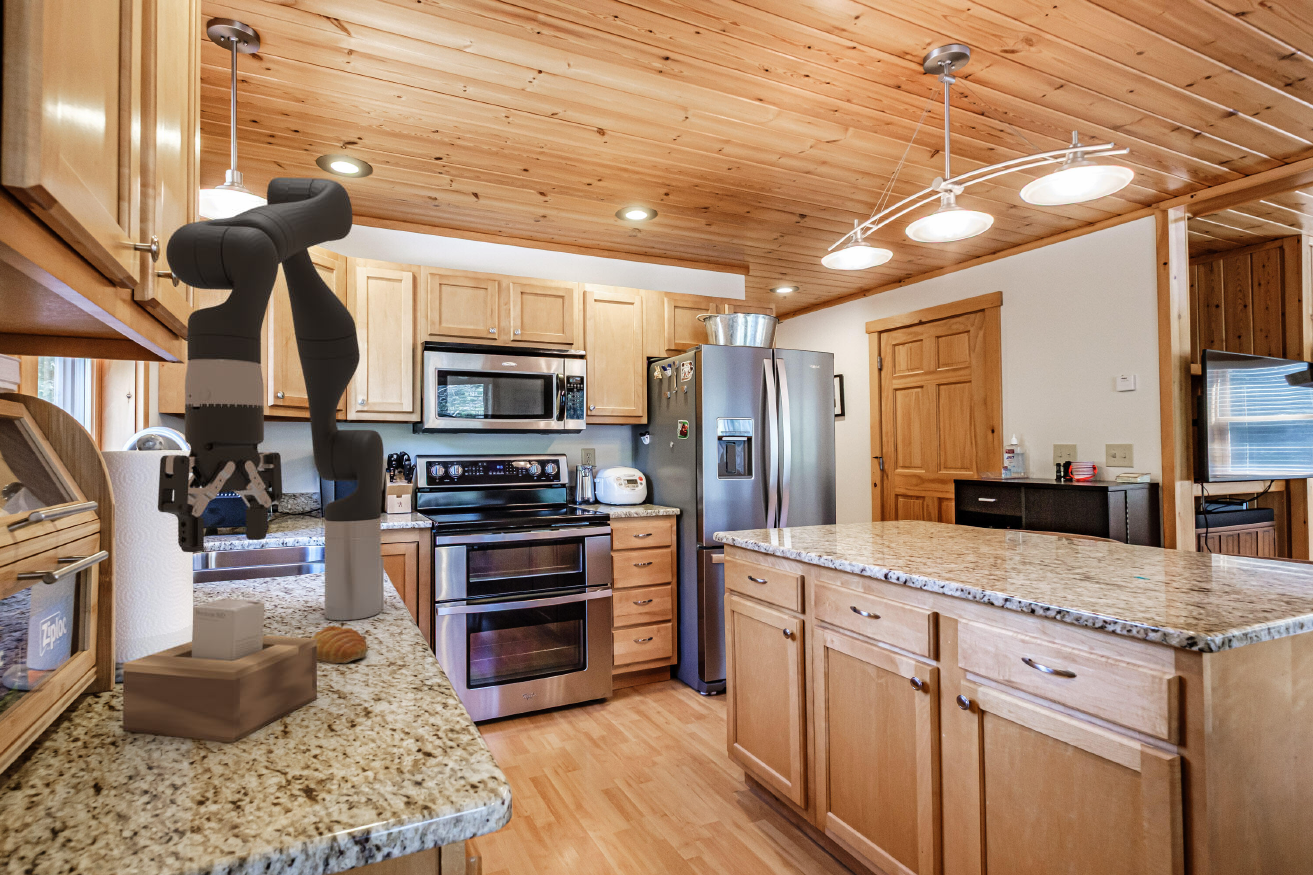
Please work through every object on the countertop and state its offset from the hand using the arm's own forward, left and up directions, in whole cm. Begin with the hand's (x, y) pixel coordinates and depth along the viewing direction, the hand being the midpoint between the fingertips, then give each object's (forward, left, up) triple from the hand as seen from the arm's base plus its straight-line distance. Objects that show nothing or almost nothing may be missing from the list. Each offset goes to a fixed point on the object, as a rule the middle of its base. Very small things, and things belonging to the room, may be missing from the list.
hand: (225, 545), depth 75 cm
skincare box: (0, 0, -19) cm, 19 cm away
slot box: (0, 0, -19) cm, 19 cm away
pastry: (-21, -2, -20) cm, 29 cm away
